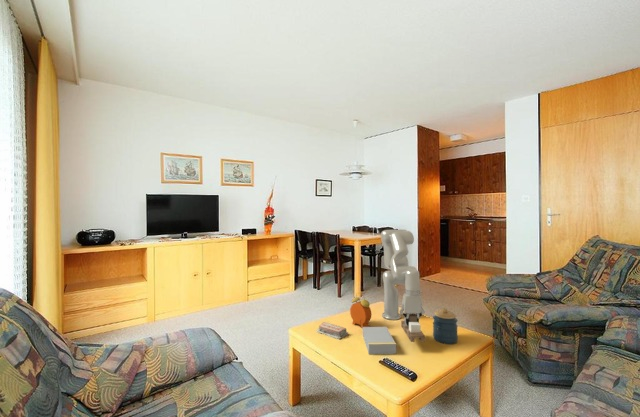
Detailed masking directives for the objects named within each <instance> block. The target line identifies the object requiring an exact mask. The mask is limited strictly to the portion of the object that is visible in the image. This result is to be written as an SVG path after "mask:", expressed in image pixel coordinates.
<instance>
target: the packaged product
mask: <svg viewBox="0 0 640 417" xmlns="http://www.w3.org/2000/svg"><path fill="white" fill-rule="evenodd" d="M314 331H317V332H316V333H318V332H319V333H318V334H321V333H322V335H324V334H325V335H324V336H328V337H329V338H333V339H336V340H342V339H343V338H344V337H346V336H347V335H349V331H347V328H346V327H343V326H340V325H337V324H333V323H331V322H326V321H323V322H322V323H321V324H320V325H318V328H317V329H316V330H314Z"/></svg>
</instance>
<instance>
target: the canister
mask: <svg viewBox="0 0 640 417" xmlns="http://www.w3.org/2000/svg"><path fill="white" fill-rule="evenodd" d="M456 317H457V315H456V313H453V311H451V310H448V309H447V308H446V307H444V308H442V309H438V310H436V311H434V315H433V316H432V319H433V322H432V324H433V325H432V327H433V329H432V330H433V332H432V337H433V339H434V340H435V341H436V342H438V343H440V344H444V343H445V344H444V345H453V344H452V343H454V344H457V343H458V339H459V337H458V319H457V318H456Z"/></svg>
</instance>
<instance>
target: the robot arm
mask: <svg viewBox="0 0 640 417" xmlns="http://www.w3.org/2000/svg"><path fill="white" fill-rule="evenodd" d="M380 240H381V241H380V242H381V243H382V248H383V259H384V260H383V261H384V267H385V268H387V269H390V270H385V271H384V272H383V273H382V281H383V292H384V294H383V299H384V301H383V304H384V305H383V308H384V309H383V312H382V313H381V314H382V315H381V316H382V318H383V319H386V320H390V321H392V320H393V321H396V320H400V319H401V318H402V316H403V317H404V318H405V317H406V324H407V325H408V326H409V314H415V315H416V316H417V322H418V323H419V324H420V319H421V317H422V316H423V315H424V314H426V311H425V310H424V308H423V300H422V296H421V293H423V290H422V289H421V288H420V271H419V270H418V269H417V268H416V267H415V266H412V265H411V266H410V265H409V259H408V257H407V256H408V254H409V249H408V246H407V245H412V244H414V242H415V237H414V235H413V232H411V231H410V230H407V229H384V230H382V231H381V232H380ZM396 285H397V286H398V285H399V286H400V285H401V286H402V285H404V293H403V294H402V301H401V302H402V304H401V308H399V289H398V288H397V287H396ZM399 309H400V310H399Z"/></svg>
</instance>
